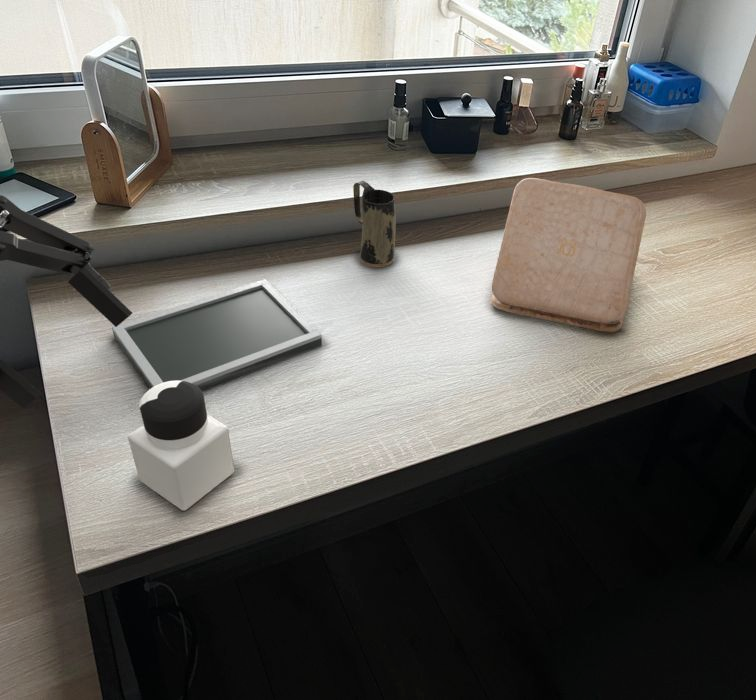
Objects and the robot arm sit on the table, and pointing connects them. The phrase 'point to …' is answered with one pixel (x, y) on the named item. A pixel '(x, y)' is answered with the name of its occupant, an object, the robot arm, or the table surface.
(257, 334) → the chalkboard
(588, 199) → the case
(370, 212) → the mug
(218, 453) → the medicine bottle
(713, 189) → the table surface
